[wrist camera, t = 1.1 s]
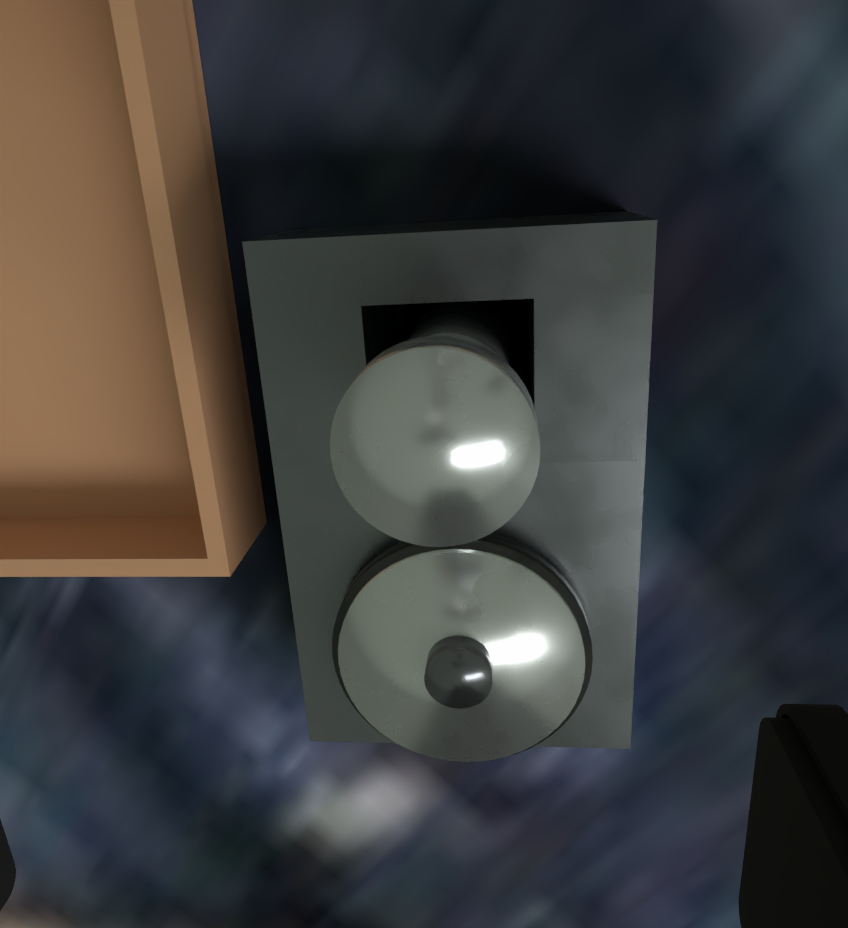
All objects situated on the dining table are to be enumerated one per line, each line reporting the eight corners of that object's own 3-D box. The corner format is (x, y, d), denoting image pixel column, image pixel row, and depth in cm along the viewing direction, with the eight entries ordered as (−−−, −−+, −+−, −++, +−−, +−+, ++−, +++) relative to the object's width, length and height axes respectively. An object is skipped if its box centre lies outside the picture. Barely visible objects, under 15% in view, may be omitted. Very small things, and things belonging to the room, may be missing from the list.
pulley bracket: (290, 229, 30) (214, 248, 22) (626, 211, 28) (674, 225, 20) (339, 655, 37) (294, 786, 29) (610, 658, 35) (640, 797, 27)
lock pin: (390, 284, 30) (319, 351, 19) (525, 278, 30) (539, 344, 18) (399, 412, 32) (340, 547, 20) (526, 409, 31) (540, 546, 20)
